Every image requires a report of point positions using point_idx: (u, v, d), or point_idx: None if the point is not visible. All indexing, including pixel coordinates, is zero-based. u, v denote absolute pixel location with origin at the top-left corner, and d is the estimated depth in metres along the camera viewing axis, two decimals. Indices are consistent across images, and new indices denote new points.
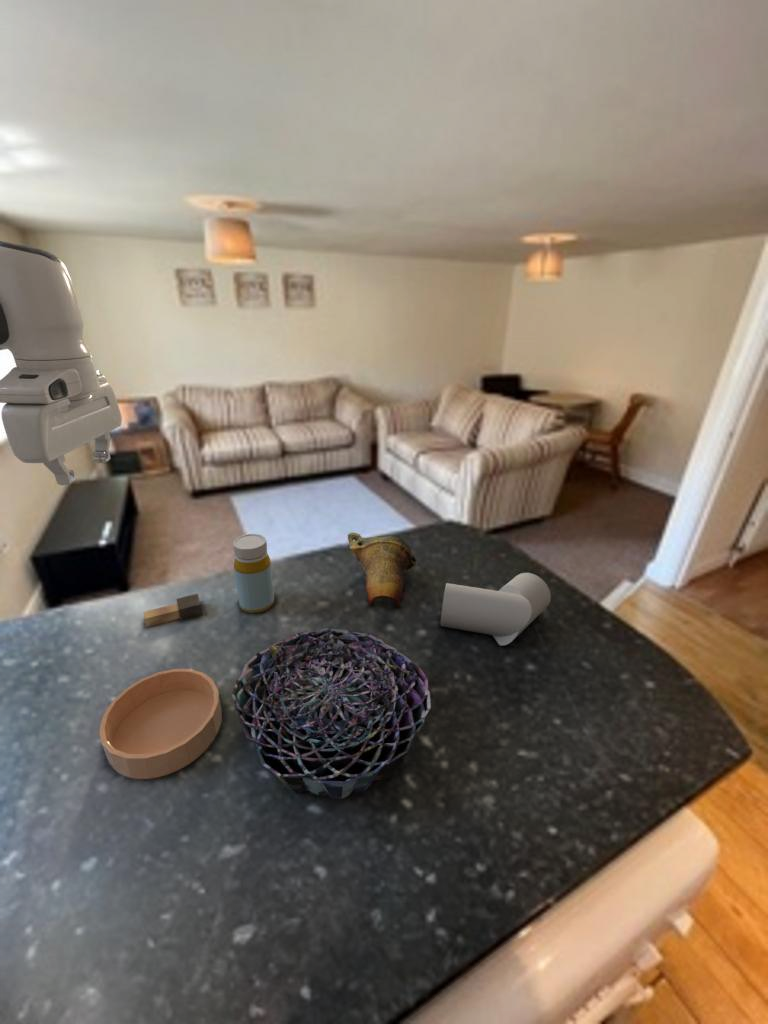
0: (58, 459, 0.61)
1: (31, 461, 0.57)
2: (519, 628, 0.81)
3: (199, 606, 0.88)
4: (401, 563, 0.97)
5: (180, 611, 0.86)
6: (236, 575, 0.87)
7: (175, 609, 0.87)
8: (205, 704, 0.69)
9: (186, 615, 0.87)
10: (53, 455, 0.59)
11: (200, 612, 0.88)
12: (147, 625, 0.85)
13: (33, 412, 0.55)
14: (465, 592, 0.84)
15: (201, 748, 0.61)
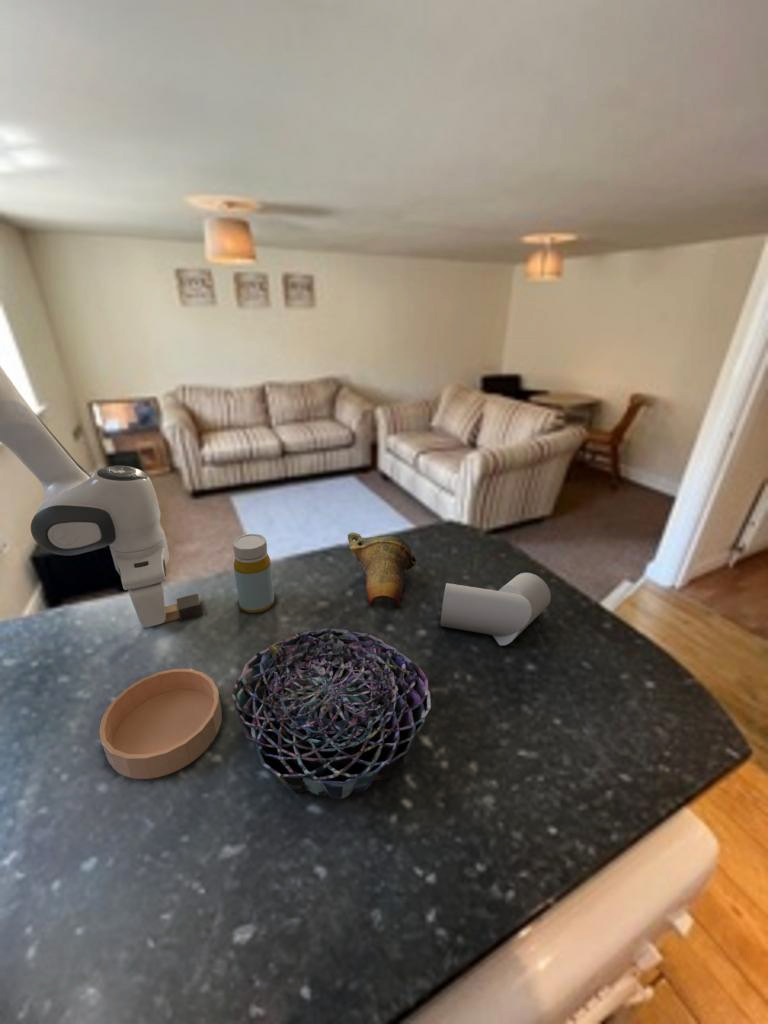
0: None
1: None
2: (519, 628, 0.81)
3: (199, 606, 0.88)
4: (401, 563, 0.97)
5: (180, 611, 0.86)
6: (236, 575, 0.87)
7: (175, 609, 0.87)
8: (205, 704, 0.69)
9: (186, 615, 0.87)
10: None
11: (200, 612, 0.88)
12: None
13: (157, 590, 0.75)
14: (465, 592, 0.84)
15: (201, 748, 0.61)
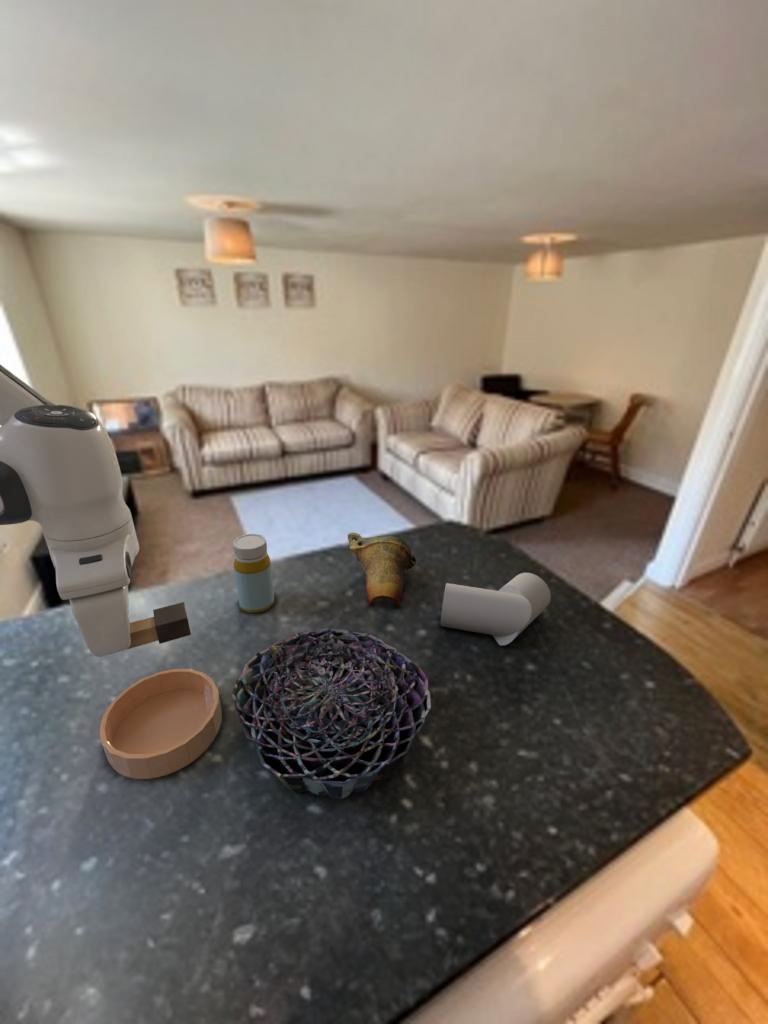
0: None
1: (112, 653, 0.49)
2: (519, 628, 0.81)
3: (185, 620, 0.61)
4: (401, 563, 0.97)
5: (157, 628, 0.59)
6: (236, 575, 0.87)
7: (151, 626, 0.60)
8: (205, 704, 0.69)
9: (166, 634, 0.60)
10: None
11: (187, 629, 0.61)
12: None
13: (116, 599, 0.48)
14: (465, 592, 0.84)
15: (201, 748, 0.61)
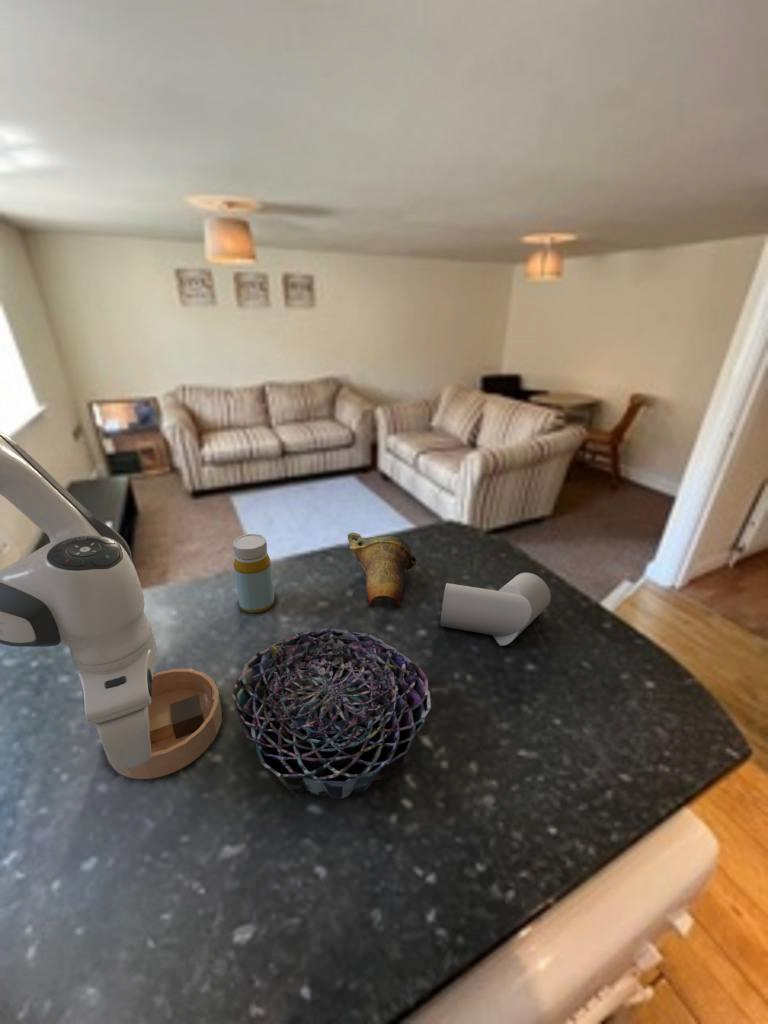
0: None
1: (134, 767, 0.53)
2: (519, 628, 0.81)
3: (200, 716, 0.64)
4: (401, 563, 0.97)
5: (174, 726, 0.63)
6: (236, 575, 0.87)
7: (168, 722, 0.63)
8: (205, 704, 0.69)
9: (183, 730, 0.63)
10: None
11: (202, 723, 0.65)
12: None
13: (138, 720, 0.51)
14: (465, 592, 0.84)
15: (201, 748, 0.61)
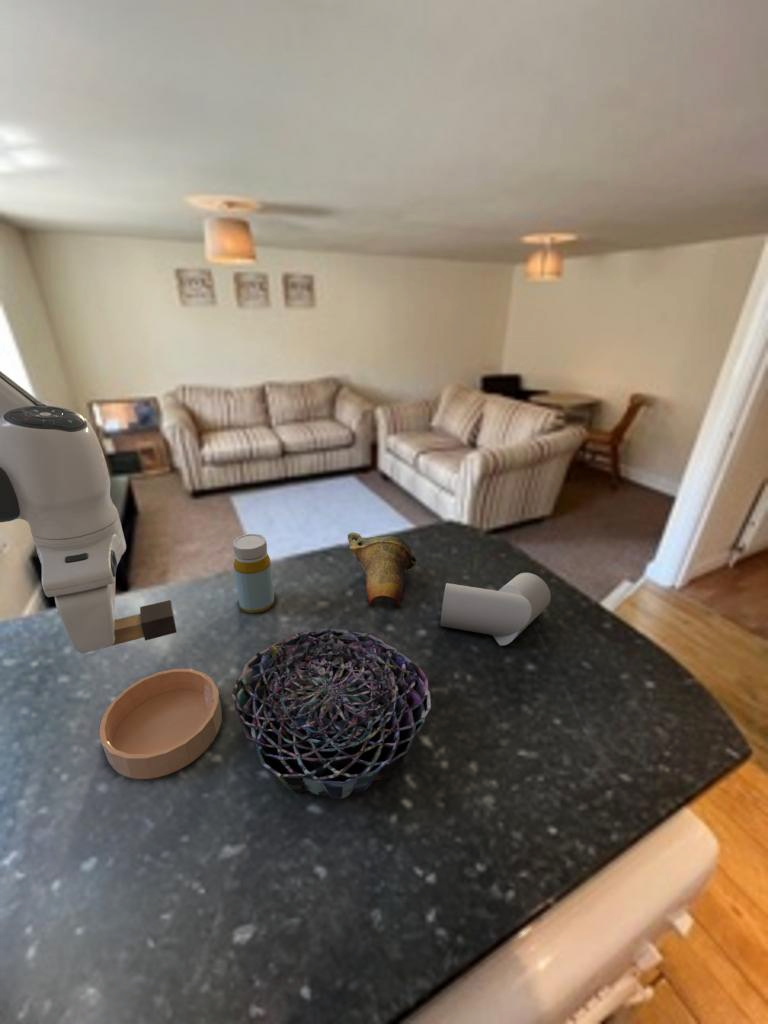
0: None
1: (95, 649, 0.50)
2: (519, 628, 0.81)
3: (171, 618, 0.62)
4: (401, 563, 0.97)
5: (143, 625, 0.60)
6: (236, 575, 0.87)
7: (137, 623, 0.61)
8: (205, 704, 0.69)
9: (152, 631, 0.61)
10: None
11: (172, 627, 0.62)
12: None
13: (100, 597, 0.49)
14: (465, 592, 0.84)
15: (201, 748, 0.61)
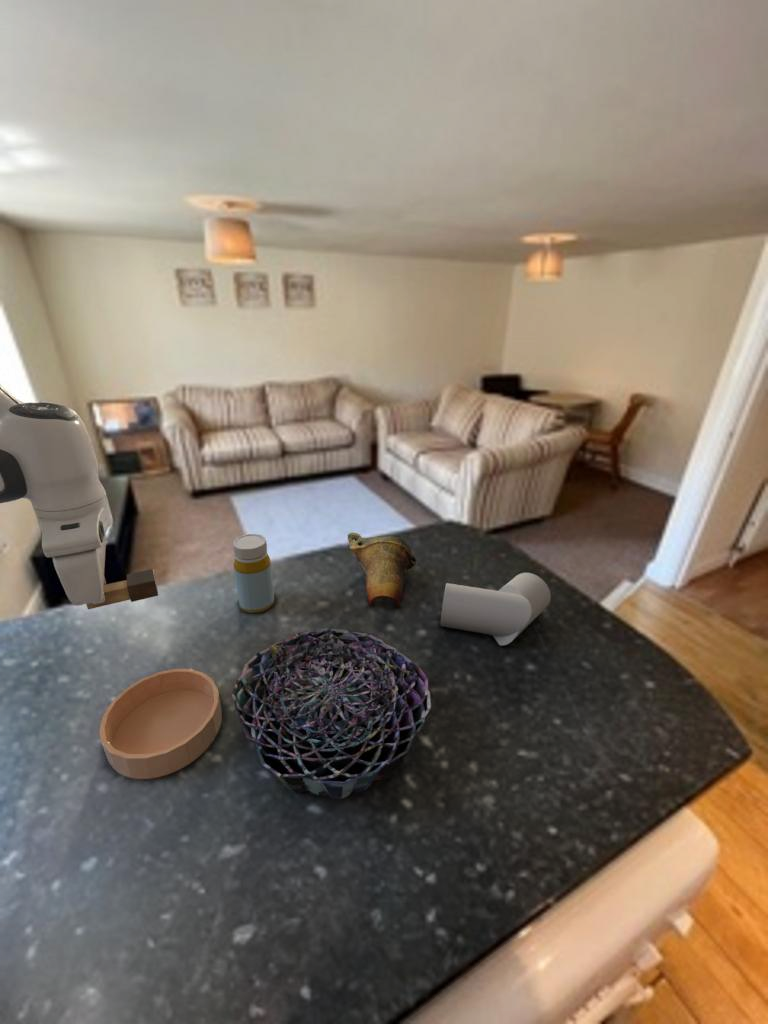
0: None
1: (87, 602, 0.61)
2: (519, 628, 0.81)
3: (153, 583, 0.72)
4: (401, 563, 0.97)
5: (129, 588, 0.71)
6: (236, 575, 0.87)
7: (124, 587, 0.72)
8: (205, 704, 0.69)
9: (137, 593, 0.72)
10: None
11: (154, 590, 0.73)
12: (88, 605, 0.70)
13: (90, 558, 0.60)
14: (465, 592, 0.84)
15: (201, 748, 0.61)
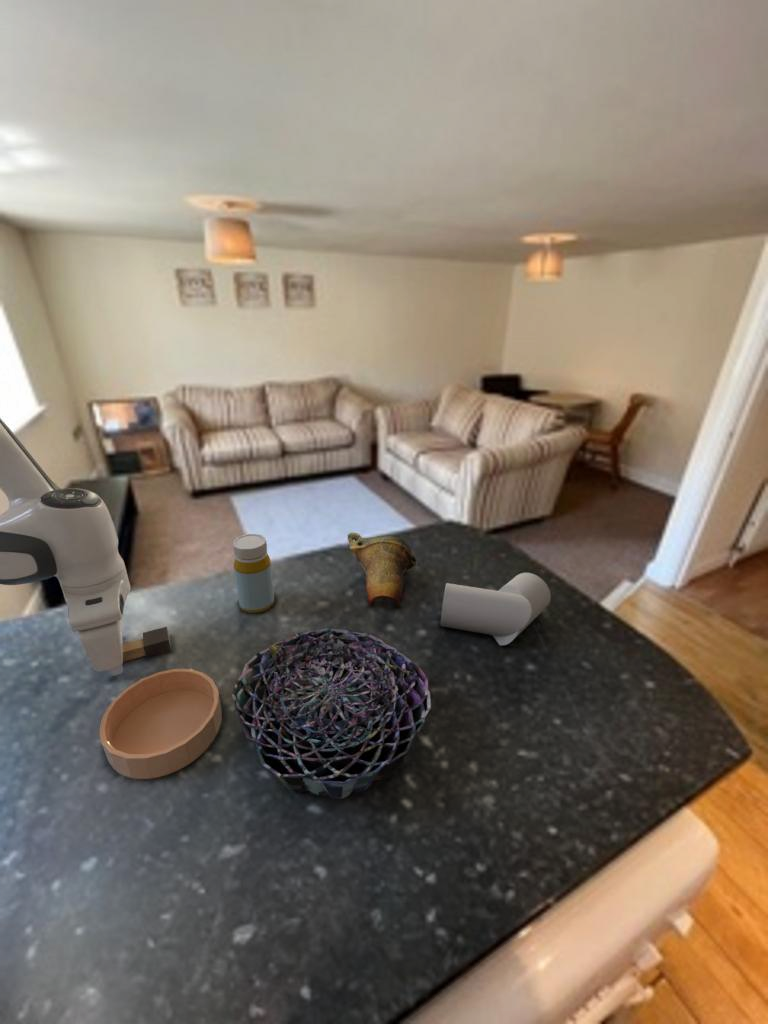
0: None
1: (109, 669, 0.67)
2: (519, 628, 0.81)
3: (167, 642, 0.78)
4: (401, 563, 0.97)
5: (145, 648, 0.77)
6: (236, 575, 0.87)
7: (140, 646, 0.78)
8: (205, 704, 0.69)
9: (152, 652, 0.78)
10: None
11: (168, 648, 0.79)
12: None
13: (112, 630, 0.66)
14: (465, 592, 0.84)
15: (201, 748, 0.61)
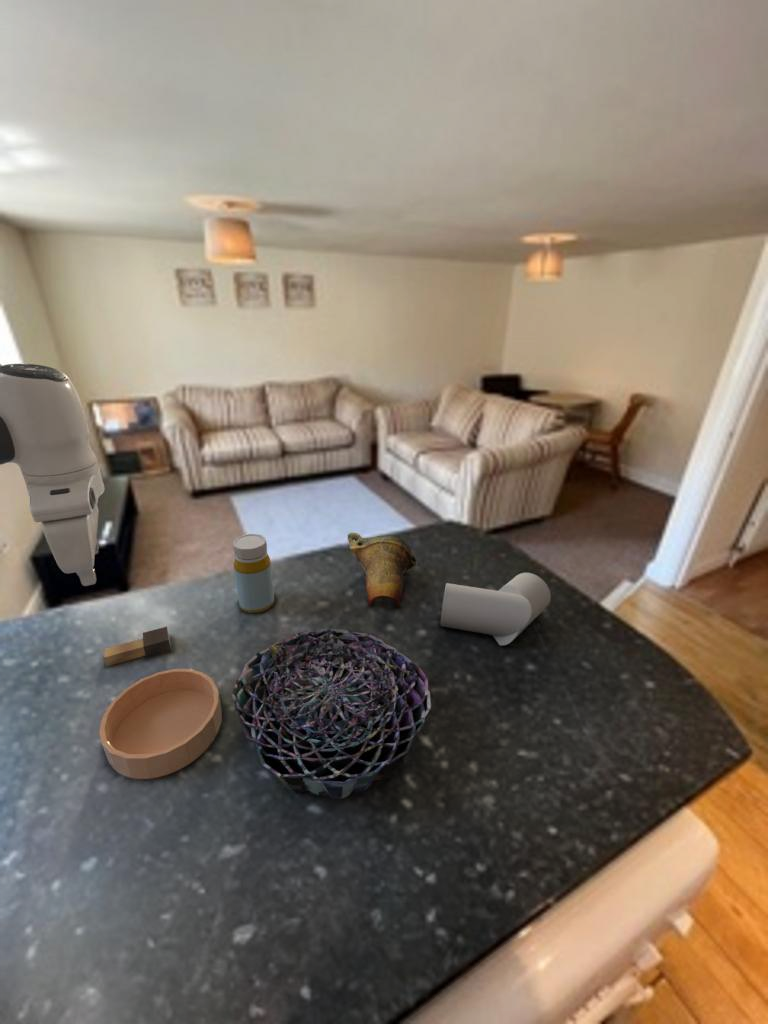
0: None
1: (77, 570, 0.59)
2: (519, 628, 0.81)
3: (167, 642, 0.78)
4: (401, 563, 0.97)
5: (145, 648, 0.77)
6: (236, 575, 0.87)
7: (140, 646, 0.78)
8: (205, 704, 0.69)
9: (152, 652, 0.78)
10: None
11: (168, 648, 0.79)
12: (108, 664, 0.76)
13: (80, 524, 0.58)
14: (465, 592, 0.84)
15: (201, 748, 0.61)
